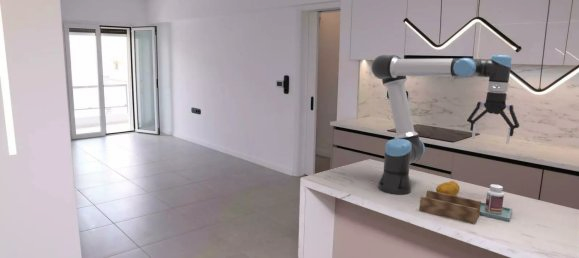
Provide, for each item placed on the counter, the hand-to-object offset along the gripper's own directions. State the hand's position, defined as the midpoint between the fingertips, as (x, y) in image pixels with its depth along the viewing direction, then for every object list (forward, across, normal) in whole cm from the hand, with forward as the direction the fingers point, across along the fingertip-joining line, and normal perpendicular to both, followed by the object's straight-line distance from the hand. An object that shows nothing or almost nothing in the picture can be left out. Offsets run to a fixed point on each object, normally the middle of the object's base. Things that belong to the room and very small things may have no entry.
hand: (489, 140), depth 175 cm
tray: (+28, +7, -12) cm, 31 cm away
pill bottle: (+27, +7, -12) cm, 31 cm away
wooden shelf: (+28, -8, -25) cm, 38 cm away
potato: (+28, -13, -6) cm, 32 cm away
